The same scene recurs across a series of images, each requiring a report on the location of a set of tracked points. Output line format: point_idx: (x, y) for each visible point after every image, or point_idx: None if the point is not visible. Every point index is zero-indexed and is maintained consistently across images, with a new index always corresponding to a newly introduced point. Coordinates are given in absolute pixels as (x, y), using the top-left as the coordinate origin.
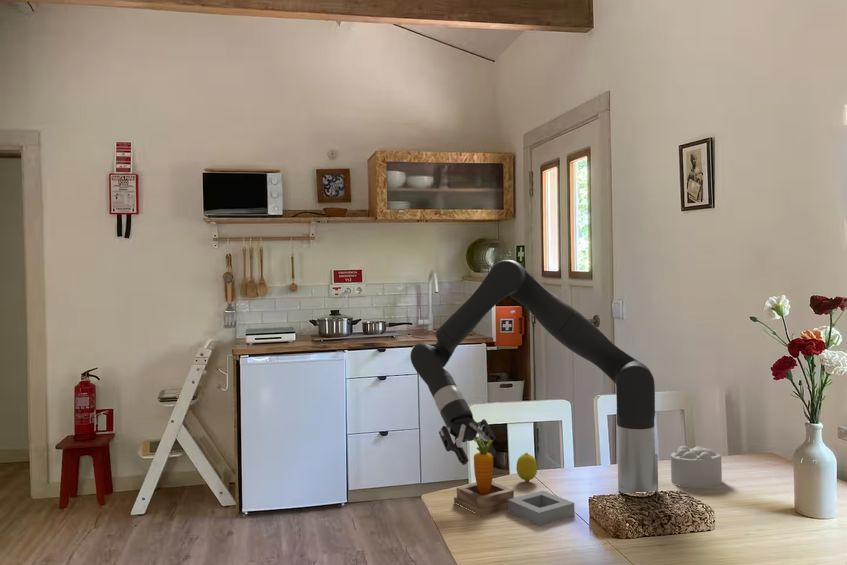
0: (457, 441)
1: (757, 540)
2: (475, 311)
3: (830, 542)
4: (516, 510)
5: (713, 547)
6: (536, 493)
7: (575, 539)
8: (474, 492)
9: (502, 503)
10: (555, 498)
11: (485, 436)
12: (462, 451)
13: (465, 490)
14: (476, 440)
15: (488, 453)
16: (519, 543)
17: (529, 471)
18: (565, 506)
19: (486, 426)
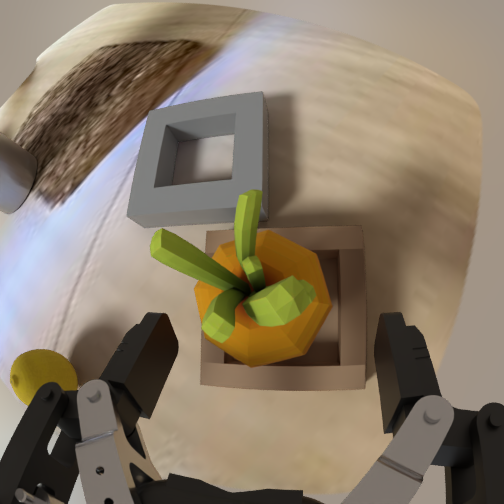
0: (432, 452)
1: (105, 26)
2: None
3: (82, 23)
4: (266, 176)
5: (146, 16)
6: (155, 203)
7: (256, 52)
8: (342, 297)
9: None
10: (152, 148)
11: (93, 423)
12: (412, 364)
13: (357, 339)
14: (304, 298)
15: (226, 268)
16: (361, 77)
17: (54, 354)
18: (176, 106)
19: (16, 471)
